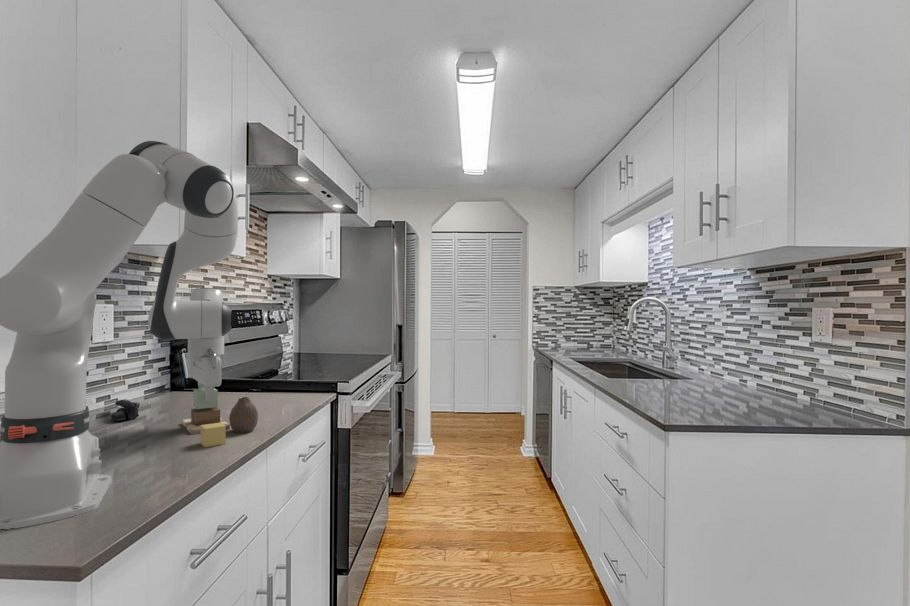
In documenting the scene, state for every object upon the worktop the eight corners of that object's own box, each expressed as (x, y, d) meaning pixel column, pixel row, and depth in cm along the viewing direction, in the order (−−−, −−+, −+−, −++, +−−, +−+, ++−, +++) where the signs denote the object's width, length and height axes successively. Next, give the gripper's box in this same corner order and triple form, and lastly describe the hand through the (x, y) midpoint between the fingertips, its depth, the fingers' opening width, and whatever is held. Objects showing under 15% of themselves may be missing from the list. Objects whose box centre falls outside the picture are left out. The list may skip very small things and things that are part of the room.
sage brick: (217, 406, 134) (217, 390, 134) (196, 409, 130) (197, 391, 131) (213, 403, 137) (213, 387, 138) (193, 405, 134) (193, 389, 134)
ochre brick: (225, 445, 117) (225, 426, 117) (204, 448, 115) (204, 428, 115) (220, 440, 121) (221, 422, 121) (200, 444, 118) (200, 425, 118)
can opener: (142, 421, 141) (142, 401, 141) (112, 424, 137) (112, 404, 137) (133, 410, 155) (133, 392, 155) (106, 413, 150) (106, 394, 150)
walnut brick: (220, 422, 134) (220, 409, 134) (195, 426, 130) (195, 412, 130) (215, 418, 138) (215, 406, 138) (191, 421, 135) (191, 408, 135)
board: (229, 429, 131) (229, 425, 131) (191, 434, 126) (191, 430, 126) (217, 419, 142) (217, 415, 142) (182, 424, 137) (182, 419, 137)
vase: (246, 435, 125) (246, 401, 125) (223, 433, 127) (223, 399, 127) (263, 429, 132) (263, 396, 132) (241, 427, 134) (241, 394, 134)
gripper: (228, 350, 128) (227, 404, 128) (211, 345, 144) (210, 392, 144) (201, 351, 124) (200, 407, 124) (186, 346, 140) (186, 395, 140)
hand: (205, 399), depth 134 cm, fingers closed on sage brick, 5 cm apart
